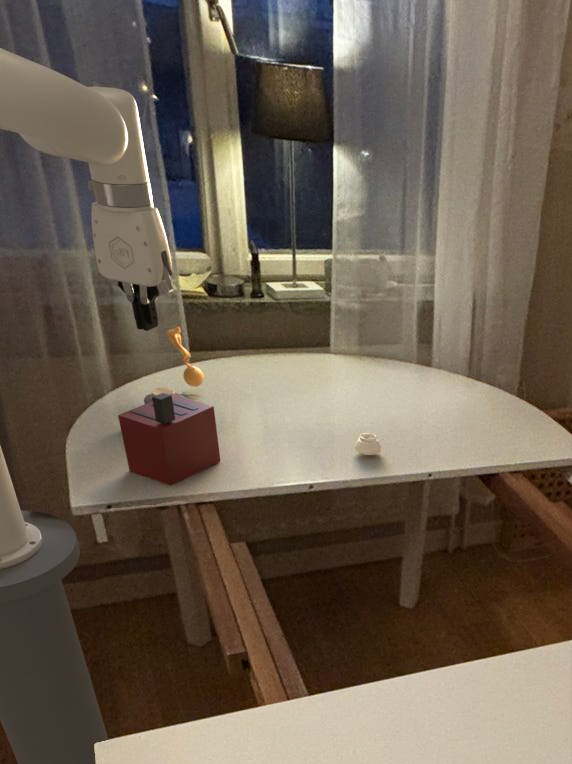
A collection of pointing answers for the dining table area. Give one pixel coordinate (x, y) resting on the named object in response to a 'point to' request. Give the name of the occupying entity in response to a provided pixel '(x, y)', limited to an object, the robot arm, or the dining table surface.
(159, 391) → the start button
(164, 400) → the slider
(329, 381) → the dining table surface
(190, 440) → the toaster
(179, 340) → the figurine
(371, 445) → the white jar
